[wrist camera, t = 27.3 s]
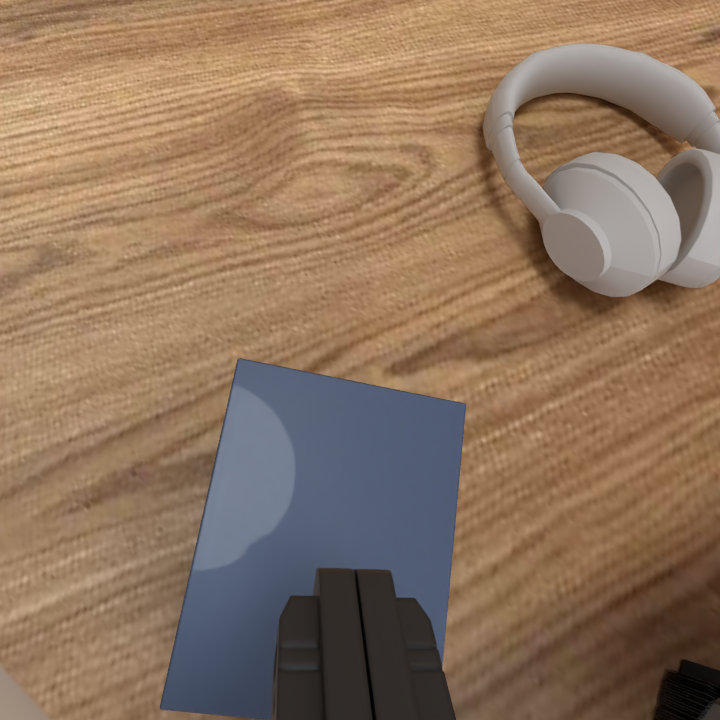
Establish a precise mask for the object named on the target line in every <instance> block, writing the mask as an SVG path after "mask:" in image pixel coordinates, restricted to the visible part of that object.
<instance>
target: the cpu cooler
mask: <svg viewBox="0 0 720 720" xmlns="http://www.w3.org/2000/svg"><path fill="white" fill-rule="evenodd" d="M669 670H670V669H669ZM672 671H673V670H672ZM674 672H676V671H674ZM669 673H670V672H669ZM676 673H679V674H680V675H681V676H679V675H676V674H673V673H671V674H673V675H675V676H677V677H678V678H676V677H674V676H671V675H670V676H671V677H673V678H675V679H677V680H679V681H677V680H674V679H672V678H670V679H672V680H673V681H675V682H677V683H675V682H672V681H669V680H668V681H669V682H671V683H669V682H667V681H664V682H665V683H667V684H669V685H671V686H673V687H671V686H669V687H671V688H672V689H674V690H672V689H670V688H667V687H665V686H663V688H665V689H667V690H665V689H663V688H662V690H664V691H666V692H668V693H670V694H672V695H674V696H672V695H670V694H667V693H665V692H663V691H662V693H663V694H665V695H663V694H661V695H662V696H664V697H666V698H668V699H670V700H671V701H670V700H668V699H665V698H663V697H660V698H661V699H663V700H665V701H663V700H661V699H660V701H662V702H664V703H666V704H668V705H670V706H672V707H674V708H672V707H670V706H668V705H665V704H663V703H661V702H659V703H660V704H662V705H664V706H665V707H667V708H669V709H671V710H669V709H667V708H666V709H667V710H669V711H671V712H673V713H675V714H677V715H679V716H681V717H682V718H681V717H679V716H676V715H674V714H672V713H670V712H667V711H665V710H663V709H661V708H658V709H659V710H661V711H663V712H665V713H667V714H669V715H671V716H673V717H671V716H669V715H667V714H665V713H663V712H660V711H658V710H657V712H659V713H661V714H663V715H665V716H667V717H669V718H671V719H673V720H678V719H679V720H685V719H686V720H720V671H719V670H716V669H712V668H709V667H706V666H703V665H700V664H697V663H694V662H691V661H687V660H683V666H682V671H681V673H680V672H676ZM668 678H669V677H668ZM679 678H680V679H679ZM680 681H681V682H680ZM682 682H683V683H682ZM672 683H673V684H672ZM678 683H679V684H678ZM665 685H666V684H665ZM667 686H668V685H667ZM674 687H675V688H674ZM668 690H669V691H668ZM675 690H676V691H675ZM670 691H671V692H670ZM677 691H678V692H677ZM666 695H667V696H666ZM668 696H669V697H668ZM675 696H676V697H675ZM670 697H671V698H670ZM666 701H667V702H666ZM672 701H673V702H672ZM668 702H669V703H668ZM670 703H671V704H670ZM662 707H663V706H662ZM665 707H664V708H665ZM672 710H673V711H672ZM674 711H675V712H674ZM676 712H677V713H676ZM656 714H657V715H659V716H661V717H663V718H665V719H666V720H670V719H668V718H666V717H664V716H662V715H660V714H658V713H656ZM674 717H675V718H674ZM676 718H677V719H676ZM683 718H684V719H683ZM655 720H657V719H655Z"/></svg>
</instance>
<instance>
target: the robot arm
mask: <svg viewBox="0 0 720 720" xmlns="http://www.w3.org/2000/svg"><path fill="white" fill-rule="evenodd" d="M271 719H272V720H456V717H455V713H454V709H453V706H452V702H451V698H450V694H449V690H448V686H447V682H446V678H445V674H444V672H443V671H442V662H441V659H440V655H439V651H438V650H437V643H436V639H435V635H434V631H433V627H432V623H431V620H430V618H429V617H428V615H427V614H426V613H425V611H424V610H423V608H422V607H421V605H420V604H419V603H418V601H417V600H416V598H397V596H396V591H395V586H394V581H393V577H392V573H391V571H390V570H381V569H354V571H353V569H350V568H317V570H316V574H315V581H314V587H313V594H312V596H298V595H291V596H290V598H289V600H288V602H287V604H286V606H285V608H284V610H283V612H282V614H281V615H280V617H279V625H278V633H277V641H276V650H275V658H274V666H273V688H272V716H271Z"/></svg>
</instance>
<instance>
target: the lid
mask: <svg viewBox="0 0 720 720" xmlns="http://www.w3.org/2000/svg"><path fill="white" fill-rule="evenodd" d="M465 410H466V404H464V403H460V402H455V401H450V400H445V399H440V398H435V397H430V396H425V395H420V394H415V393H410V392H405V391H400V390H395V389H390V388H385V387H380V386H375V385H370V384H365V383H360V382H355V381H350V380H345V379H340V378H335V377H330V376H325V375H320V374H315V373H310V372H306V371H301V370H296V369H291V368H286V367H281V366H276V365H271V364H266V363H261V362H256V361H251V360H246V359H241V358H239V359H238V360H237V364H236V369H235V373H234V378H233V382H232V387H231V391H230V395H229V400H228V404H227V409H226V413H225V418H224V422H223V427H222V431H221V436H220V440H219V445H218V449H217V454H216V458H215V463H214V467H213V472H212V476H211V481H210V485H209V490H208V494H207V498H206V503H205V507H204V512H203V516H202V521H201V525H200V530H199V534H198V539H197V543H196V548H195V552H194V557H193V561H192V566H191V570H190V575H189V579H188V584H187V588H186V593H185V597H184V602H183V606H182V610H181V615H180V619H179V624H178V628H177V633H176V637H175V642H174V646H173V651H172V655H171V660H170V664H169V669H168V673H167V678H166V682H165V687H164V691H163V696H162V700H161V705H160V709H162V710H171V711H181V712H192V713H202V714H213V715H223V716H234V717H244V718H255V719H265V720H272V719H271V716H272V688H273V666H274V658H275V650H276V641H277V633H278V625H279V617H280V615H281V614H282V612H283V610H284V608H285V606H286V604H287V602H288V600H289V598H290V596H291V595H298V596H312V594H313V587H314V581H315V574H316V570H317V568H350V569H353V571H354V569H381V570H390V571H391V573H392V577H393V581H394V586H395V591H396V596H397V598H416V600H417V601H418V603H419V604H420V605H421V607H422V608H423V610H424V611H425V613H426V614H427V615H428V617H429V618H430V620H431V623H432V627H433V631H434V635H435V639H436V643H437V650H438V651H439V655H440V659H441V662H442V663H443V652H444V641H445V630H446V619H447V608H448V597H449V586H450V575H451V564H452V553H453V542H454V531H455V520H456V509H457V498H458V487H459V476H460V465H461V454H462V443H463V432H464V421H465Z"/></svg>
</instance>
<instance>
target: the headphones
mask: <svg viewBox="0 0 720 720" xmlns="http://www.w3.org/2000/svg"><path fill="white" fill-rule="evenodd" d="M553 93H576V94H582V95H587V96H592V97H597V98H601V99H603V100H606V101H608V102H610V103H613V104H616V105H618V106H621V107H624V108H626V109H629V110H630V111H632V112H633V113H635V114H636V115H638V116H640V117H641V118H643V119H644V120H646V121H647V122H649V123H650V124H652V125H653V126H655V127H657V128H658V129H660V130H661V131H663V132H664V133H666V134H667V135H669V136H671V137H672V138H674V139H676V140H677V141H679V142H681V143H683V142H685V141H686V140H687V142H688V143H689V144H690V145H691V146H692V147H696V148H694V149H689V150H686V151H684V152H681V153H679V154H678V155H676V156H675V157H674V158H673V159H671V160H670V161H669V162H668V163H667V164H666V165H665V167H664V168H663V169H662V170H661V172H660V173H659V174H658V175H657V177H656V178H655V177H654V176H653V175H652V174H650V173H649V172H648V171H647V170H645V169H644V168H643V167H642V166H640V165H639V164H638V163H636V162H634V161H632V160H629V159H627V158H625V157H622V156H620V155H618V154H611V153H600V152H593V153H589V154H586V155H583V156H579V157H577V158H575V159H573V160H571V161H569V162H567V163H566V164H564V165H562V166H560V167H558V168H557V169H556V170H555V171H554V172H553V173H552V174H551V175H549V176H548V177H547V179H546V181H545V184H544V186H543V188H542V187H541V186H540V185H539V184H538V183H537V182H536V181H535V179H534V178H533V177H531V176H530V174H529V173H528V172H527V171H526V170H525V168H524V167H523V165H522V163H521V161H520V157H519V154H518V151H517V147H516V142H515V138H514V134H513V124H512V123H513V119H514V114H515V111H516V110H517V109H518V108H519V106H521V105H522V104H524V103H525V102H527V101H529V100H531V99H533V98H536V97H540V96H544V95H549V94H553ZM715 109H716V108H715V106H714V105H713V103H712V102H711V100H710V98H709V97H708V95H707V94H706V92H705V91H704V90H703V89H702V88H701V87H700V86H699V85H698V84H697V83H696V82H695V81H694V80H693V79H692V78H690V77H688V76H687V75H685V74H684V73H682V72H681V71H679V70H677V69H676V68H673V67H671V66H669V65H666V64H664V63H662V62H660V61H658V60H656V59H654V58H652V57H650V56H648V55H647V54H645V53H641V52H635V51H629V50H625V49H621V48H618V47H614V46H607V45H600V44H587V43H586V44H569V45H562V46H557V47H553V48H550V49H546V50H542V51H537V52H534V53H533V54H531V55H530V56H528V57H527V58H526V59H525V60H523V61H522V62H521V63H519V64H518V65H517V66H515V67H514V68H513V69H512V70H511V71H510V72H508V73H507V75H506V76H505V77H504V78H503V79H502V81H501V82H500V84H499V85H498V87H497V88H496V90H495V92H494V93H493V95H492V97H491V99H490V101H489V104H488V107H487V110H486V114H485V117H484V122H483V134H484V138H485V143H486V146H487V148H488V149H489V150H490V149H491V152H492V154H494V157H495V160H496V163H497V166H498V168H499V170H500V172H501V175H502V177H503V179H504V180H506V182H507V184H508V186H509V187H510V189H511V190H512V192H513V193H514V194H515V195H516V196H517V197H518V198H519V199H520V200H521V201H522V202H523V203H524V205H525V206H526V207H527V208H528V209H529V210H530V212H531V213H532V214H533V215H534V216H535V217H536V219H537V220H538V221H539V225H540V230H541V234H542V237H543V242H544V246H545V248H546V250H547V253H548V255H549V257H550V258H551V259H552V261H553V262H554V263H555V265H556V266H557V267H558V268H559V269H560V270H561V271H562V272H564V273H565V274H567V275H568V276H570V277H572V278H573V279H574V280H575V281H576V282H578V283H580V284H581V285H583V286H585V287H586V288H588V289H590V290H591V291H593V292H596V293H599V294H603V295H606V296H609V297H628V296H630V295H632V294H634V293H636V292H638V291H641V290H642V289H644V288H645V287H647V286H648V285H650V284H651V283H652V282H654V281H655V280H657V279H658V280H661V281H665V282H668V283H672V284H675V285H679V286H684V287H687V288H702V287H704V286H706V285H708V284H710V283H713V282H715V281H716V280H717V279H718V278H719V277H720V119H719V118H718V116H717V115H716V114H715V112H714V111H715Z"/></svg>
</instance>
